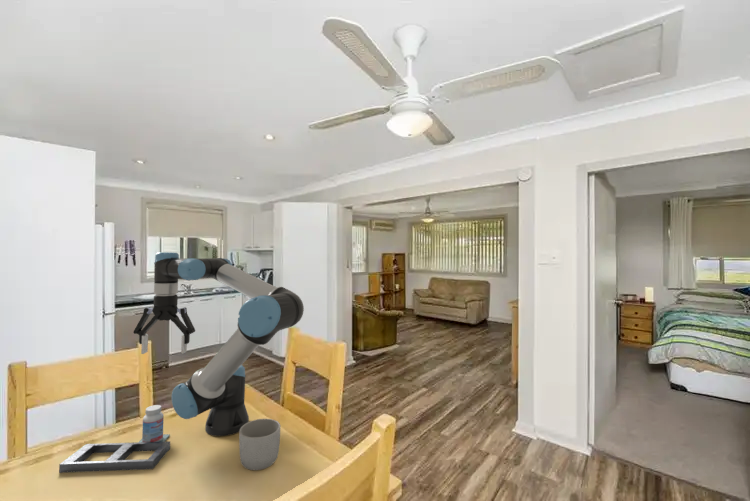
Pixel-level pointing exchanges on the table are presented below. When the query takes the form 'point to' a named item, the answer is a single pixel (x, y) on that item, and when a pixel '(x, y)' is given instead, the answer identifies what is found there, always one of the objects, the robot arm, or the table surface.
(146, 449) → the rack frame
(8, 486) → the table surface
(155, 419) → the pill bottle
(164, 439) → the coaster
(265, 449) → the planter
